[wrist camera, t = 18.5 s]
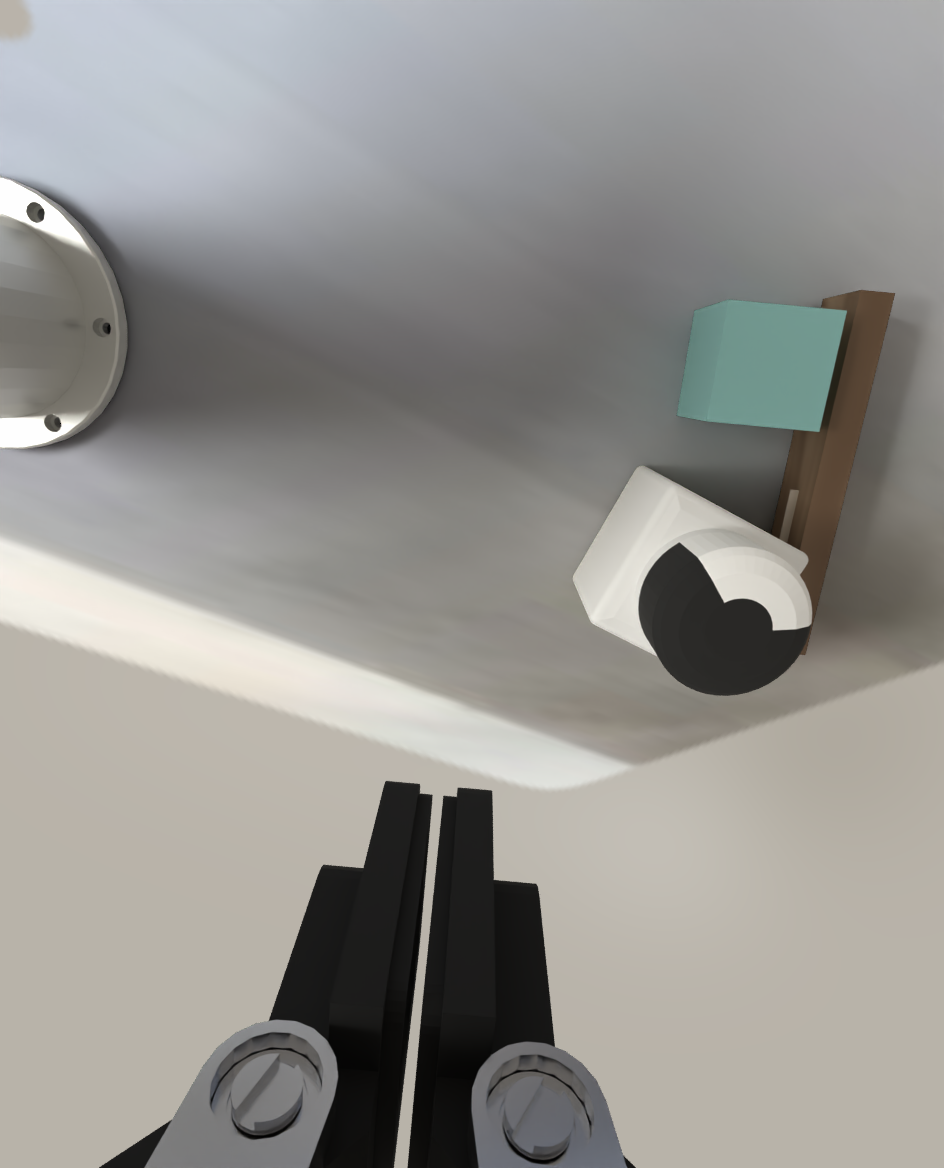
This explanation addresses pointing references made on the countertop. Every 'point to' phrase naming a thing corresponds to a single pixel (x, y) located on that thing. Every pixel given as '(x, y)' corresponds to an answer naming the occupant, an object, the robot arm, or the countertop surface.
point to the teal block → (760, 364)
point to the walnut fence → (831, 440)
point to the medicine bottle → (696, 588)
